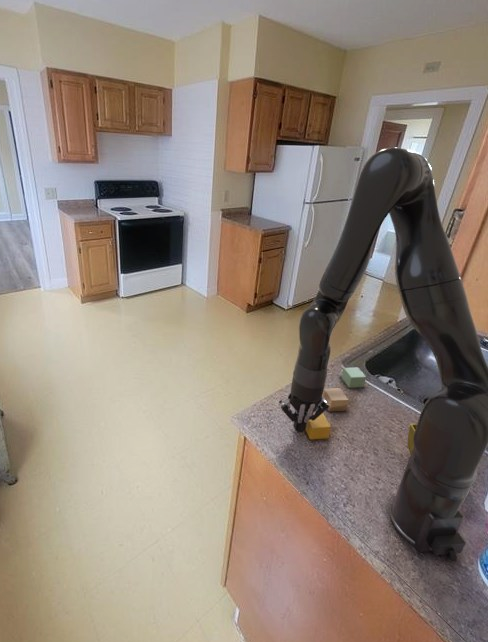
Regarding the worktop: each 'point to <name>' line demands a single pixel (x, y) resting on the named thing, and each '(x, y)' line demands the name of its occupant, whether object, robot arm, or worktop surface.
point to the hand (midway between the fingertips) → (298, 430)
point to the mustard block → (318, 428)
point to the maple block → (335, 399)
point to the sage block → (353, 377)
